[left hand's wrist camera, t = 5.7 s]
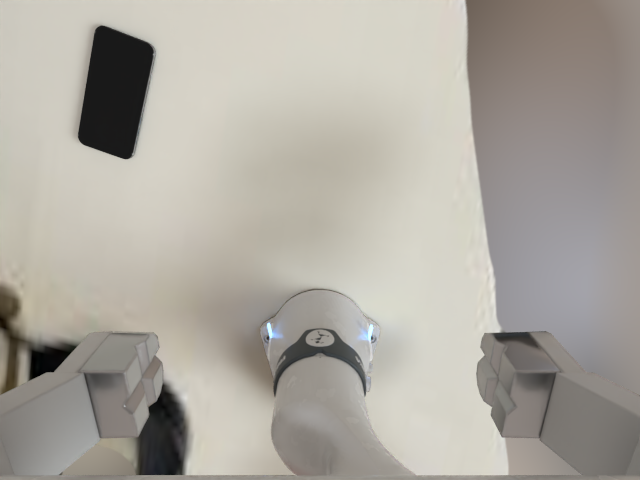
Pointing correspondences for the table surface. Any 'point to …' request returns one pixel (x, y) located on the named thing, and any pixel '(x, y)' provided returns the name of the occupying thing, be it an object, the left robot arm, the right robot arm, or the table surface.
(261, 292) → the table surface
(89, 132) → the smartphone
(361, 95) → the table surface
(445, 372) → the table surface
